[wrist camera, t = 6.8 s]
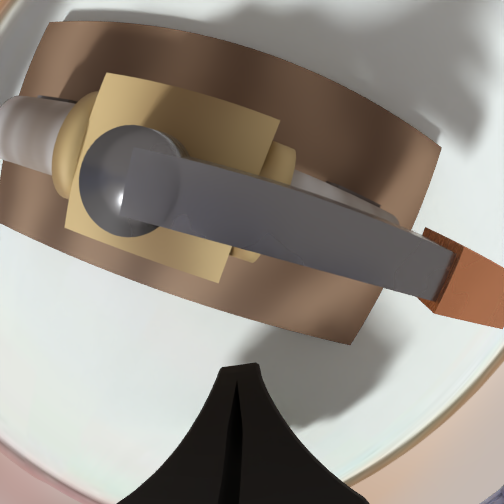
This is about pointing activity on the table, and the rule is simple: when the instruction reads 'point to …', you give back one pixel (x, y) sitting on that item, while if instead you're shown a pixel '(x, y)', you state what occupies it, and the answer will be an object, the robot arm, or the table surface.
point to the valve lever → (279, 223)
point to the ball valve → (210, 149)
